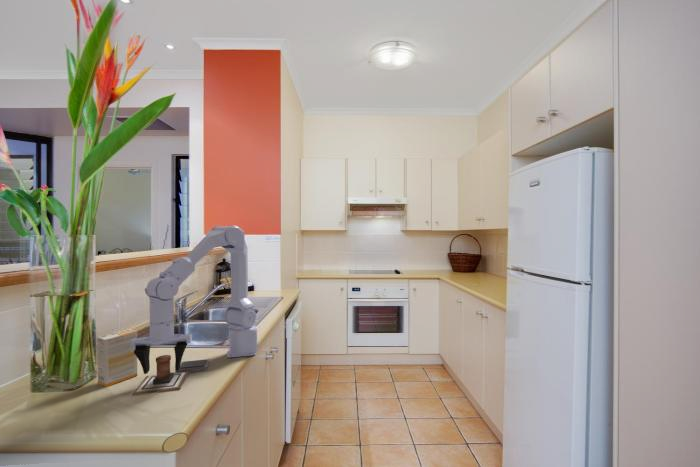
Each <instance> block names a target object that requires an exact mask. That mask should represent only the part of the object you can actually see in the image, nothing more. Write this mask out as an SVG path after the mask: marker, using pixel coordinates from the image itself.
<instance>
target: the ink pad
mask: <svg viewBox="0 0 700 467" xmlns="http://www.w3.org/2000/svg"><path fill="white" fill-rule="evenodd" d="M209 365H210V359H209V358H208V359H207V358H206V359H198V360H197V359H196V360H186V361H181V364H180V369H179V370H178V371H176V372H175V373H182V372H189V373H191V372H202V371H203V372H204V371H207V368H208V367H207V366H209Z"/></svg>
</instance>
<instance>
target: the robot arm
mask: <svg viewBox="0 0 700 467" xmlns="http://www.w3.org/2000/svg"><path fill="white" fill-rule="evenodd" d="M214 248H223V249H224V250H226V251H227V252H228V253H229V254H230V300H229V301H228V302H227V303H226V308H225V312H224V317H223V318H224V321H225V323H227V327H228V336H229V337H228V343H229V344H228V346H229V349H228V352H227V354H226V358H227V359H228V358H237V357H246V356H247V357H249V356H256V355H258V348H259V341H258V325H254V324H255V323H256V320H257V319H256V318H257V313H256V311H255V307H254V306H255V304H254V303H253V302H252V301H251V300H250V299H249V280H248V279H249V278H248V277H249V276H248V275H249V274H248V271H249V270H248V268H249V267H248V266H249V264H248V263H249V262H248V256H249V255H248V245H247V242H246V240H245V231H244V230H243V229H242V228H241V227H239V226H238V225H228V226H227V225H223V226H222V225H215V226H213V227H212V228H211V229H210V230H208V231H207V232H206V234H205V235H204V237H203V238H202V239H201V240H200V242H199V243H198V244H197V245H195V247H193V249H192V250H191V251H190V252H189V253H188V254H187V255H186V256H185V257H184V256H181V257H178V258H173V260H172V261H171V264H170V265H169V266H168V267H167V268H166V269H165V270H164V271H160V273H159V274H158V275H159V276H157V277H154V278H151V279H150V280H149V281H148V283H147V285H146V287H145V288H144V291H145V294H146V296H147V297H148V298H149V336H143V337H137V338H134V339H133V340H131V348H135V347H136V348H135V350H134V354H135V355H136V356H137V360H138V361H139V363H140V365H141V367H142V371H143V375H146V374H148V373H149V372H150V370H151V369H150V368H151V366H150V364H151V363H150V353H151V352H150V351H151V346H162V345H173V344H175V346H174V347H173V350H174V356H175V361H174V362H175V363H174V364H175V367H174V369H175V371H178V370H179V369H180V364H181V362H182V359H183V356H184V353H185V350H186V347H187V346H188V344H191V343H192V340H193V339H192V338H193V334H192V333H190V334H189V333H188V334H185V333H175V318H174V317H175V315H174V313H175V312H174V311H175V310H174V308H175V306H174V305H175V303H174V302H175V299H174V297H175V296H177V294H178V292H179V288H180V286H181V285H182V284H183V283H184V282H185V281H186V280H187V279H188V278H189V277H190V276H191V275H192V274H193V273H194V272H195V270H196V264H198V263H199V262H200V261H201V260H202V259H203V258H204V257H205V256H207V255H208V254H209V253H210V252H212V251H213V250H214Z"/></svg>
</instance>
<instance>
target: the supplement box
mask: <svg viewBox="0 0 700 467" xmlns="http://www.w3.org/2000/svg"><path fill="white" fill-rule="evenodd" d="M134 338H138V331H137V330H133V329H130V328H128V329H123V330H120V331H119V330H118V331H115V332H111V333H107V334H101V335H99V336H96V355H97V357H96V358H97V361H96V362H97V384H99V385H101V386H103V387H105V388H108V387H110V386H112V385H116V384H118V383H121V382H123V381H126V380H128V379H131V378H134V377H136V376H138V358H137V356H136V355H135V354H134V350H135V348H136V347H135V348H131V340H133V339H134Z"/></svg>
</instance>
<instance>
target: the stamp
mask: <svg viewBox="0 0 700 467" xmlns="http://www.w3.org/2000/svg"><path fill="white" fill-rule="evenodd" d="M171 360H172V356H171V355H170V354H164V355H159V356H157V357H155V363H156V375H157V376H156V377H155V378H154V380H153V385H156V384H165V383H170V381H171V380H172V378H173V377H174V373H175V372H171Z"/></svg>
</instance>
